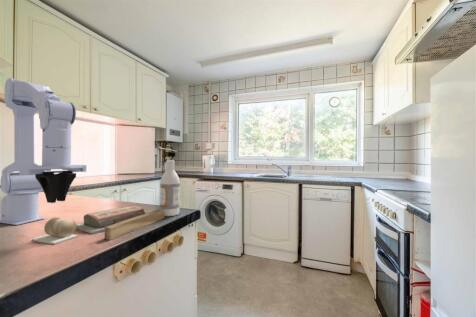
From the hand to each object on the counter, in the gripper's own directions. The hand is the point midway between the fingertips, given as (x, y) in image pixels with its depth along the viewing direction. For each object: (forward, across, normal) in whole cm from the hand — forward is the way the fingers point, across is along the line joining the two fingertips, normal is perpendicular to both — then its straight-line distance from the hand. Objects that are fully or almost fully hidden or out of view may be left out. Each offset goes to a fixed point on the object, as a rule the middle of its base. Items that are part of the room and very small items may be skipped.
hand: (56, 201), depth 57 cm
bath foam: (+10, +32, -12) cm, 35 cm away
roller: (+9, +1, 0) cm, 9 cm away
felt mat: (+9, 0, 0) cm, 9 cm away
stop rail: (+9, +15, -13) cm, 22 cm away
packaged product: (+10, +15, -3) cm, 19 cm away
